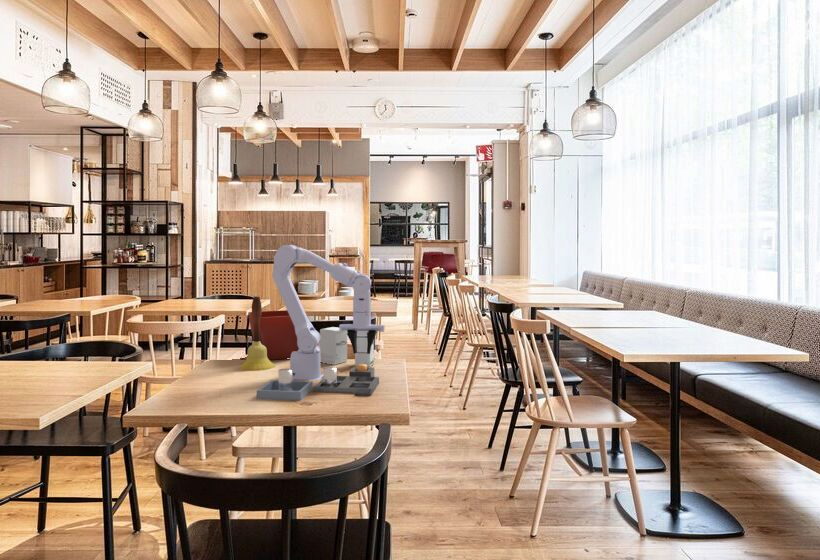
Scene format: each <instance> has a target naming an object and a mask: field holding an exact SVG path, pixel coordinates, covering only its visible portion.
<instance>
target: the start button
mask: <svg viewBox="0 0 820 560" xmlns="http://www.w3.org/2000/svg"><path fill="white" fill-rule="evenodd" d="M356 367H357V371H367V365H366V364H358V365H357V366H356Z"/></svg>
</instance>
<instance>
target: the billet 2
mask: <svg viewBox="0 0 820 560" xmlns="http://www.w3.org/2000/svg"><path fill="white" fill-rule="evenodd" d="M322 372H323V373H322V374H323V377H322V379H323V387H337V376H338V368H337V367H336V366H325V367H323V371H322Z"/></svg>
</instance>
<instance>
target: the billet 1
mask: <svg viewBox="0 0 820 560" xmlns="http://www.w3.org/2000/svg"><path fill="white" fill-rule="evenodd" d="M277 373H278V375H277V376H278V377H277V378H278V379H277V380H278V387H279V391H293V381H294V379H293V376H292V369H290V368H281V369H280V368H279V369H278V371H277Z"/></svg>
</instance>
